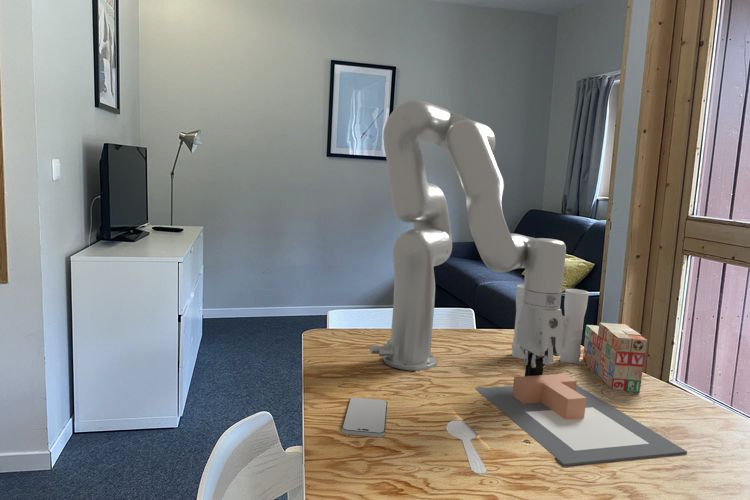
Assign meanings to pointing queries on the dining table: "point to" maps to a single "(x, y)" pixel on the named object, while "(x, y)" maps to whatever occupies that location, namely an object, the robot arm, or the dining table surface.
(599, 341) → the stack of blocks
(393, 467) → the dining table surface
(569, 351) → the binoculars
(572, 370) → the dining table surface
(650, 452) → the mat
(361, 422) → the smartphone
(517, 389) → the t block
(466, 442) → the spoon
